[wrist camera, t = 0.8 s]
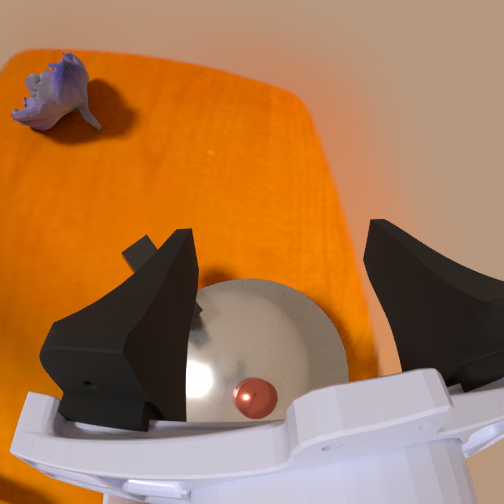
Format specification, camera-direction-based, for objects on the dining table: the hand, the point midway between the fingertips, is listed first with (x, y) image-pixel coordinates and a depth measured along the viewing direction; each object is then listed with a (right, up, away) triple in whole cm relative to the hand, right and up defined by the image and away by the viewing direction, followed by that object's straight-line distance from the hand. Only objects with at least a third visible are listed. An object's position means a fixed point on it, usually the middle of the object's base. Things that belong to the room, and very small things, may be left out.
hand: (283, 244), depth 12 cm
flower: (-21, +14, +14) cm, 29 cm away
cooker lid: (-3, -9, +10) cm, 14 cm away
